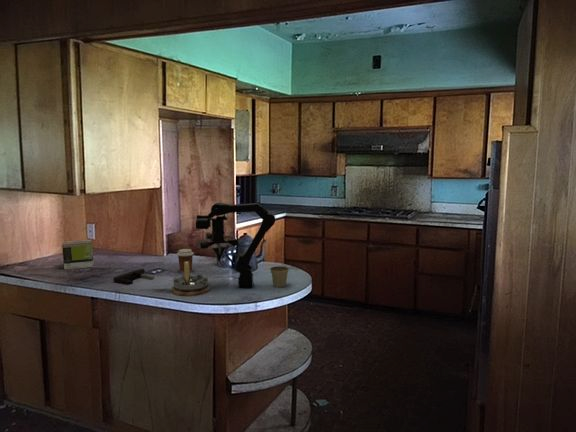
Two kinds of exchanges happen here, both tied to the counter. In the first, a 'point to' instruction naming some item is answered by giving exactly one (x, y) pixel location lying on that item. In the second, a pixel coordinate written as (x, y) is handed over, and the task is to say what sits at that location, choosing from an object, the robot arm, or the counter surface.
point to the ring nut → (190, 281)
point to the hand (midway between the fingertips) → (218, 260)
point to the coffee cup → (185, 258)
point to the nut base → (182, 293)
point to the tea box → (77, 254)
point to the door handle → (132, 277)
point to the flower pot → (279, 275)
